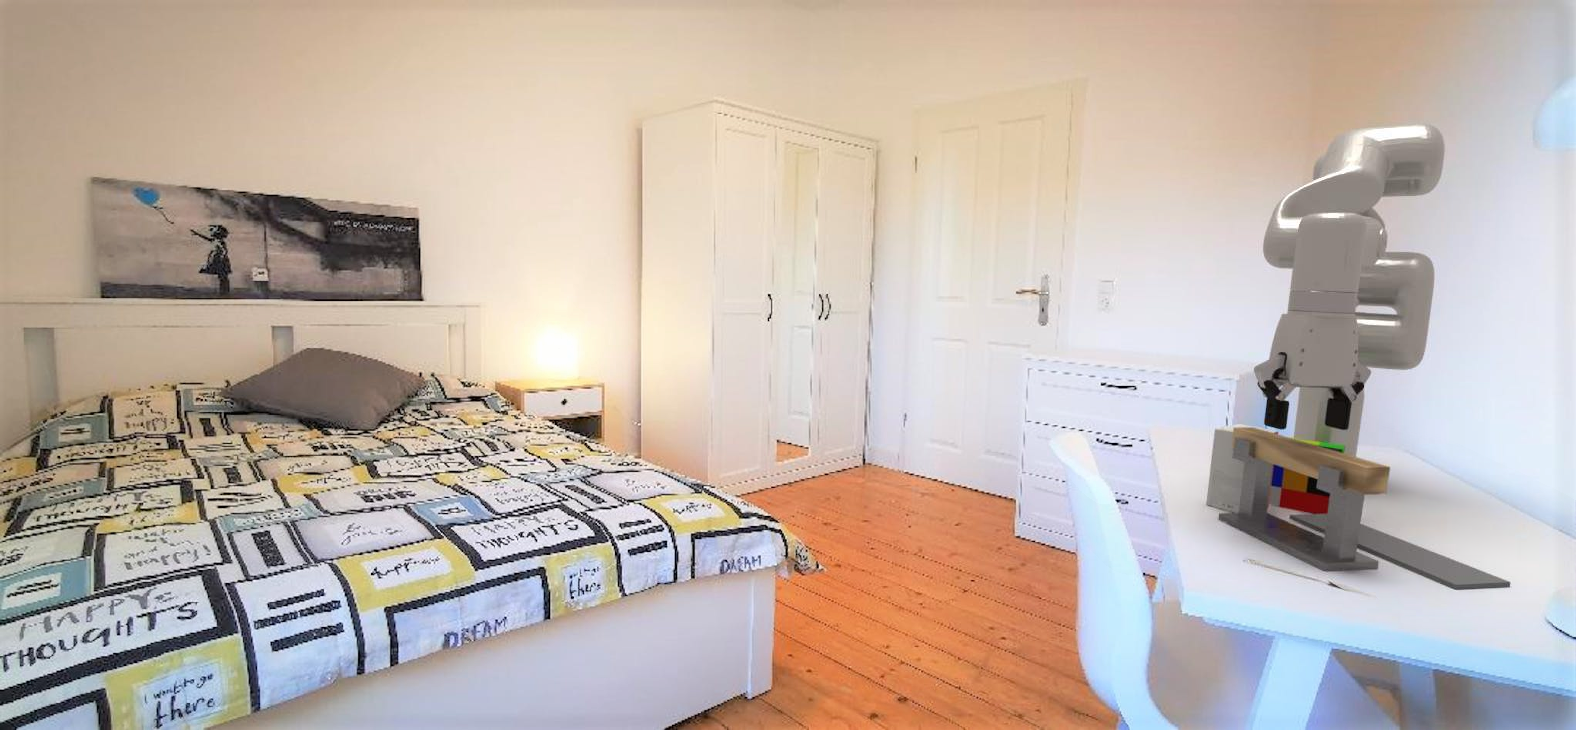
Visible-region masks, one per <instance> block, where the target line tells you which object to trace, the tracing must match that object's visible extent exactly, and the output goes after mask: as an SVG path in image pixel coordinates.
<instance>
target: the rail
mask: <svg viewBox="0 0 1576 730" xmlns="http://www.w3.org/2000/svg"><path fill="white" fill-rule="evenodd" d="M1254 427H1255V426H1253V427H1242V428H1233V437H1232V446H1231V450H1234V442H1235V438H1239V437H1240V438H1243V439H1246V440H1249V441H1252V442H1255V446H1254V454H1253V457H1254V458H1257V459H1260V460H1263V461H1266V462H1269V463H1272V464H1275V465H1278V466H1281V467H1284V468H1287V469H1289V470H1292V471H1295V472H1298V473H1301V474H1304V475H1307V476H1310V477H1313V478H1316V479H1318V474H1319V466H1320V465H1327V466H1330V467H1333V468H1337V469H1340V470H1343V471H1345V477H1344V485H1343V488H1345V489H1348V490H1351V491H1354V492H1357V493H1360V494H1373V495H1383V494H1385V495H1386V494H1387V491H1388V485H1389V478H1390V472H1391V471H1390V470H1391V466H1387V465H1384V464H1381V463H1379V462H1375V461H1372V460H1367V459H1364V458H1361V457H1358V456H1356V457H1354V456H1351V455H1347V454H1344V453H1340V452H1337V451H1333V450H1330V449H1327V448H1323V447H1320V446H1316V445H1313V444H1309V443H1306V442H1302V441H1299V440H1295V439H1292V438H1293V437H1290V438H1289V436H1285V435H1281V434H1279V433H1278V434H1275V433H1271V432H1268V431H1264V430H1261V429H1258V428H1259V427H1258V428H1254Z"/></svg>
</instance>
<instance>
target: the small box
mask: <svg viewBox="0 0 1576 730" xmlns="http://www.w3.org/2000/svg"><path fill="white" fill-rule="evenodd" d="M1242 427H1254V428H1258V429H1261V430H1264V431H1268V432H1271V433H1275V434H1278V435H1279V431H1278V430H1273V429H1267V428H1263V427H1259V426H1254V425H1253V426H1252V425H1248V424H1243V423H1237V424H1233V425H1225V426H1222V427H1218V428H1217V427H1216V428H1215V429H1214V434H1213V442H1212V449H1211V450H1212V453H1211V460H1210V470H1209V478H1208V479H1209V480H1208V487H1207V495H1206V502H1205V504H1206V505H1207V506H1210V505H1211V506H1210V507H1213V506H1214V508H1218V509H1220V508H1221V509H1220V510H1224V511H1228V512H1231V511H1232V512H1231V513H1239V505H1240V497H1241V488H1242V480H1243V471H1244V463H1245V462H1242V461H1239V460H1237V459H1234V458H1232V457H1233V450H1231V446H1232V437H1233V428H1242ZM1273 468H1274V464H1272V471H1271V479H1270V487H1269V496H1268V504H1267V509H1268V507H1269V506H1270V505H1269V498H1270V491H1271V483H1272V475H1273Z"/></svg>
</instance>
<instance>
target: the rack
mask: <svg viewBox="0 0 1576 730" xmlns="http://www.w3.org/2000/svg"><path fill="white" fill-rule="evenodd" d="M1254 446H1255V442H1252V441H1249V440H1246V439H1243V438H1240V437H1239V438H1235V442H1234V450H1233V457H1232V458H1234V459H1237V460H1239V461H1242V462H1245V463H1244V471H1243V480H1242V488H1241V497H1240V505H1239V513H1235V512H1223V513H1222V512H1220V513H1218V518H1217V519H1219V520H1218V521H1220V520H1221V522H1222V521H1224V522H1226V523H1227V524H1226V523H1225V524H1226V525H1229V526H1230V527H1233V528H1235V529H1237V528H1238V529H1237V530H1238V531H1241V532H1243V531H1244V533H1245V532H1246V533H1245V534H1247V533H1248V534H1247V535H1250V536H1251V535H1252V536H1251V537H1253V536H1254V537H1253V538H1255V539H1257V538H1258V540H1259V541H1261V542H1264V543H1266V544H1268V545H1270V546H1272V547H1273V548H1276V549H1278V550H1280V551H1283V552H1285V553H1286V554H1288V555H1291V556H1293V557H1294V558H1297V559H1299V560H1300V561H1303V562H1304V563H1307V564H1309V565H1311V566H1313V567H1315V568H1318V570H1321V571H1323V572H1331V571H1332V572H1333V571H1352V570H1355V571H1356V570H1373V569H1376V570H1378V568H1379V560H1378V559H1377V560H1376V559H1374V558H1372V557H1369V556H1367V555H1365V554H1362V553H1361V552H1359V551H1358V550H1357V549H1358V548H1357V544H1358V537H1359V530H1360V524H1362V523H1361V521H1362V514H1363V509H1364V500H1365V495H1370V496H1371V495H1374V494H1360V493H1357V492H1354V491H1351V490H1348V489H1345V488H1343V485H1344V477H1345V471H1343V470H1340V469H1337V468H1333V467H1330V466H1327V465H1320V466H1319V474H1318V482H1317V487H1316V488H1317V489H1320V490H1322V491H1325V492H1328V493H1330V499H1329V506H1328V513H1327V521H1326V528H1325V533H1324V535H1323V536H1321V535H1318V534H1317V533H1315V532H1312V531H1310V530H1307V529H1305V528H1303V527H1300V526H1298V525H1296V524H1293V523H1291V522H1289V521H1287V520H1284V519H1282V518H1281V517H1278V516H1275V515H1273V514H1270V513H1268V512H1267V511H1268V508H1267V504H1268V496H1269V487H1270V479H1271V471H1272V463H1269V462H1266V461H1263V460H1260V459H1257V458H1254V457H1253V454H1254ZM1224 522H1223V523H1224Z"/></svg>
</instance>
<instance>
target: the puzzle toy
mask: <svg viewBox="0 0 1576 730" xmlns="http://www.w3.org/2000/svg"><path fill="white" fill-rule="evenodd" d="M1288 437H1289V436H1288ZM1289 438H1292V439H1295V440H1299V441H1302V442H1306V443H1309V444H1313V445H1316V446H1320V447H1323V448H1327V449H1330V450H1333V451H1337V452H1340V453H1344V451H1345V446H1343V445H1336V444H1329V443H1323V442H1316V441H1310V440H1303V439H1296V438H1294V437H1289ZM1317 482H1318V479H1316V478H1313V477H1310V476H1307V475H1304V474H1301V473H1298V472H1295V471H1292V470H1289V469H1287V468H1284V467H1281V466H1278V465H1275V464H1274V468H1273V475H1272V483H1271V491H1270V498H1269V506H1273V507H1278V508H1283V509H1287V510H1292V511H1298V512H1302V513H1305V514H1327V513H1328V506H1329V499H1330V493H1328V492H1325V491H1322V490H1320V489H1317V488H1316V487H1317Z"/></svg>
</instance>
